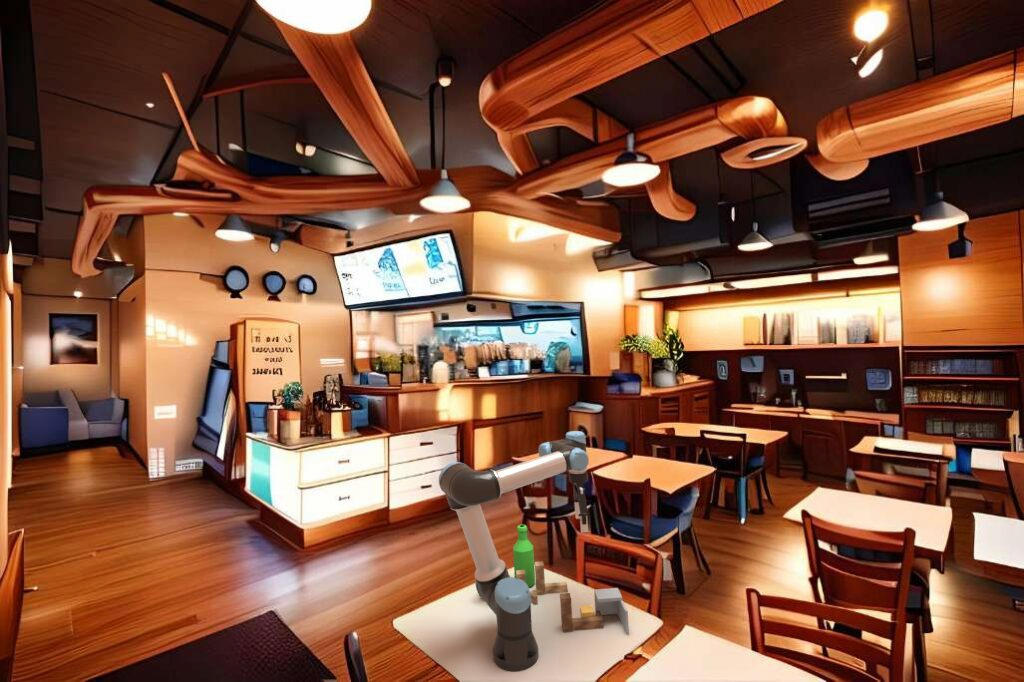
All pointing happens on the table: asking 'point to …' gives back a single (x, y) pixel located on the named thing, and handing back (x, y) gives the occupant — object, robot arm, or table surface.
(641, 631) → the table surface
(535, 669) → the table surface
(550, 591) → the wooden l-shaped block
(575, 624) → the brown l-shaped piece
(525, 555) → the bottle
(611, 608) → the grey angled piece
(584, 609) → the cube
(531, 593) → the tee
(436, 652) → the table surface
